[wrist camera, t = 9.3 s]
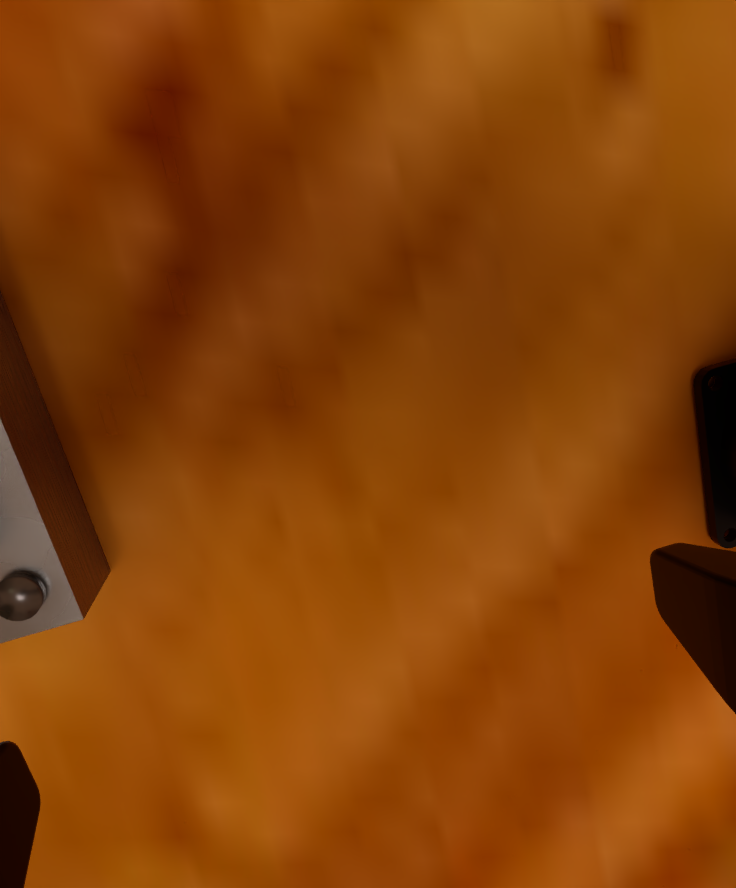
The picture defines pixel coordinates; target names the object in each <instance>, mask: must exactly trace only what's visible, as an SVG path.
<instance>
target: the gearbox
mask: <svg viewBox="0 0 736 888" xmlns="http://www.w3.org/2000/svg"><path fill="white" fill-rule="evenodd" d="M110 572H111V571H110V569H109V566H108V563H107V561H106V558H105V556H104V553H103V551H102V548H101V546H100V543H99V541H98V538H97V535H96V533H95V530H94V528H93V525H92V523H91V520H90V518H89V515H88V513H87V510H86V508H85V505H84V502H83V500H82V497H81V495H80V492H79V490H78V487H77V485H76V482H75V480H74V477H73V474H72V472H71V469H70V467H69V464H68V462H67V459H66V457H65V454H64V452H63V449H62V447H61V444H60V441H59V439H58V436H57V434H56V431H55V429H54V426H53V424H52V421H51V419H50V416H49V413H48V411H47V408H46V406H45V403H44V401H43V398H42V396H41V393H40V391H39V388H38V385H37V383H36V380H35V378H34V375H33V373H32V370H31V368H30V365H29V363H28V360H27V358H26V355H25V352H24V350H23V347H22V345H21V342H20V340H19V337H18V335H17V332H16V330H15V327H14V324H13V322H12V319H11V317H10V314H9V312H8V309H7V307H6V304H5V302H4V299H3V297H2V294H1V291H0V643H3V642H6V641H10V640H13V639H17V638H20V637H24V636H27V635H31V634H34V633H38V632H41V631H44V630H48V629H51V628H55V627H58V626H62V625H65V624H69V623H72V622H76V621H79V620H82V619H84V618H85V616H86V614H87V612H88V611H89V609H90V607H91V605H92V603H93V602H94V600H95V598H96V596H97V595H98V593H99V591H100V589H101V587H102V586H103V584H104V582H105V580H106V579H107V577H108V575H109V573H110Z"/></svg>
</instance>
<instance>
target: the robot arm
mask: <svg viewBox="0 0 736 888" xmlns="http://www.w3.org/2000/svg"><path fill="white" fill-rule="evenodd" d="M713 376H714V378H715V382H714V385H713V386H712V387H711V388H709V386H708V383H709V380H710V379H711V377H713ZM694 394H695V403H696V412H697V421H698V430H699V439H700V449H701V458H702V467H703V476H704V485H705V495H706V504H707V513H708V522H709V531H710V537H711V539H712V540H713V541H714V542H715V543H717V544H718V545H720V546H722V547H724V548H733V547H736V359H732V360H729V361H725V362H722V363H718V364H714V365H711V366H707V367H705V368H703V369H701V370H700V371H699V372H698V373H697V374H696V376H695V379H694ZM729 528H730V530H729V533H728V534H727V536H725V537H724V533H725V532H726V530H728V529H729ZM650 565H651V573H652V580H653V587H654V594H655V601H656V605H657V609H658V611H659V613H660V615H661V617H662V619H663V620H664V622H665V623H666V624H667V626H668V627H669V628H670V630H671V631H672V632H673V634H674V635H675V636H676V638H677V639H678V640H679V642H680V643H681V644H682V646H683V647H684V648H685V650H686V651H687V652H688V653H689V655H690V656H691V657H692V659H693V660H694V661H695V663H696V664H697V665H698V667H699V668H700V669H701V671H702V672H703V673H704V675H705V676H706V677H707V679H708V680H709V681H710V683H711V684H712V685H713V687H714V688H715V689H716V691H717V692H718V693H719V695H720V696H721V697H722V698H723V700H724V701H725V702H726V703H727V705H728V706H729V707H730V708H731V709H732V710H733V711H734V712H735V714H736V552H734V551H728V550H722V549H716V548H710V547H704V546H698V545H692V544H686V543H675V544H672V545H668V546H665V547H662V548H658V549H656V550H654V551H653V552H652V554H651V557H650ZM39 811H40V793H39V789H38V787H37V784H36V782H35V780H34V778H33V776H32V774H31V772H30V770H29V768H28V765H27V763H26V761H25V759H24V757H23V755H22V753H21V751H20V749H19V747H18V746H17V745H16V744H15V743H13V742H10V741H5V742H1V743H0V888H24V884H25V879H26V874H27V870H28V865H29V860H30V855H31V850H32V845H33V840H34V836H35V831H36V826H37V821H38V816H39Z"/></svg>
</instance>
